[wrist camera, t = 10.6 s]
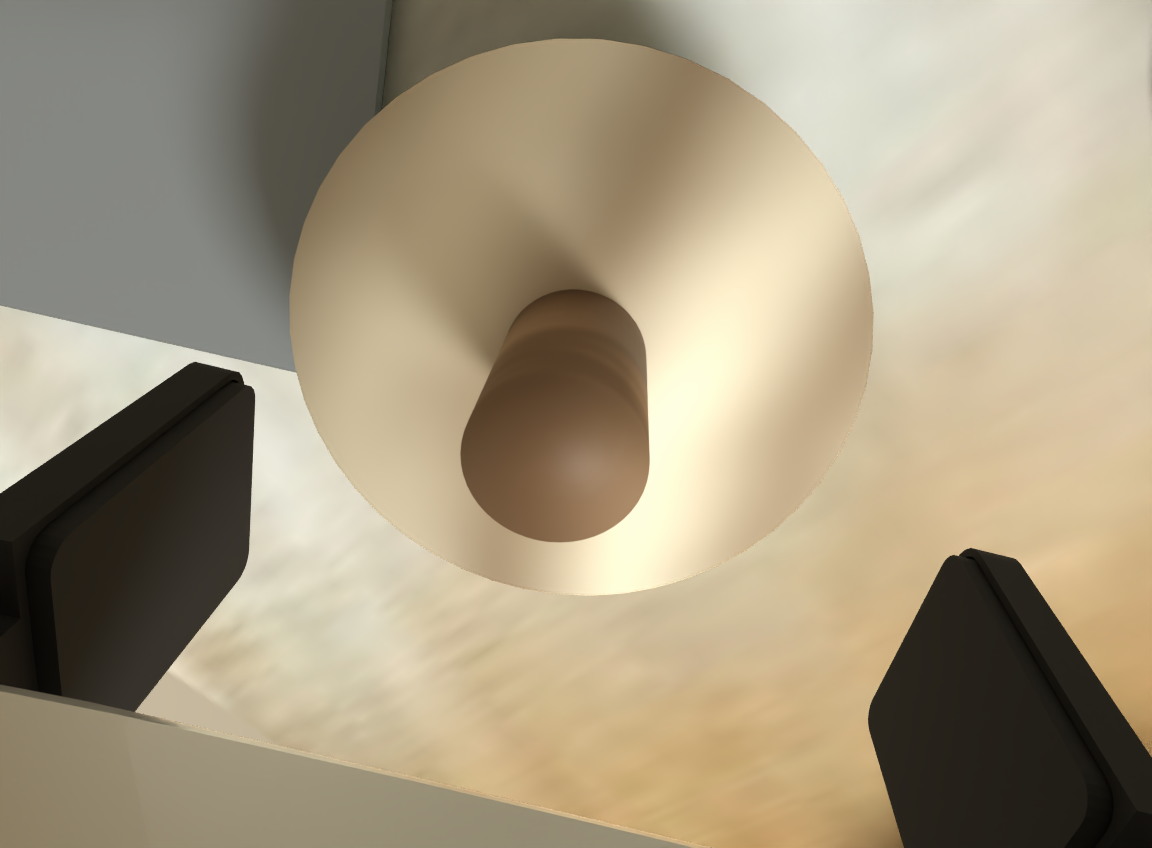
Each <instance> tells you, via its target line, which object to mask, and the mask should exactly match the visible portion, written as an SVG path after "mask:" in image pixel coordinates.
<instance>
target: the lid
mask: <svg viewBox="0 0 1152 848" xmlns="http://www.w3.org/2000/svg"><path fill="white" fill-rule="evenodd" d="M289 301H290V336H291V343H292V350H293V357H294V363H295V369H296V372H297V376H298V379H299V383H300V386H301V390H302V393H303V397H304V400H305V403H306V405H307V407H308V410H309V412H310V415H311V417H312V419H313V422H314V424H315V426H316V429H317V431H318V433H319V435H320V437H321V438H322V440H323V442H324V443H325V445H326V447H327V449H328V450H329V452H330V454H331V456H332V457H333V459H334V461H335V462H336V464H337V465H338V466H339V468H340V469H341V470H342V472H343V473H344V474H345V476H346V477H347V478H348V480H349V481H350V482H351V484H352V485H353V486H354V488H355V489H356V490H357V491H358V492H359V493H360V494H361V495H362V496H363V497H364V498H365V499H366V501H367V502H368V503H369V504H370V505H371V506H372V507H373V508H374V509H375V510H376V511H377V512H378V513H379V514H380V515H381V516H382V517H384V518H385V519H386V520H387V521H388V522H390V523H391V524H392V525H393V526H394V527H396V528H397V529H398V530H399V531H400V532H402V533H403V534H404V535H405V536H407V537H408V538H410V539H411V540H413V541H414V542H416V543H417V544H419V545H420V546H422V547H423V548H425V549H426V550H428V551H429V552H431V553H433V554H435V555H436V556H438V557H440V558H442V559H444V560H446V561H448V562H450V563H452V564H454V565H456V566H458V567H460V568H462V569H464V570H467V571H469V572H472V573H475V574H477V575H480V576H482V577H485V578H488V579H490V580H493V581H497V582H500V583H504V584H508V585H512V586H515V587H519V588H523V589H528V590H535V591H541V592H547V593H554V594H569V595H606V594H622V593H628V592H634V591H640V590H646V589H652V588H656V587H660V586H664V585H667V584H671V583H674V582H678V581H681V580H685V579H688V578H690V577H692V576H695V575H697V574H700V573H702V572H705V571H707V570H710V569H712V568H714V567H717V566H719V565H720V564H722V563H724V562H726V561H728V560H730V559H731V558H733V557H735V556H737V555H739V554H740V553H742V552H744V551H746V550H747V549H749V548H750V547H751V546H753V545H754V544H756V543H757V542H758V541H760V540H761V539H763V538H764V537H765V536H767V535H768V534H770V533H771V532H772V531H774V530H775V529H776V528H777V527H778V526H779V525H780V524H781V523H782V522H784V521H785V520H786V519H787V518H788V517H789V516H790V515H791V514H792V513H793V512H794V511H796V510H797V509H798V508H799V507H800V505H801V504H802V503H803V502H804V501H805V500H806V498H807V497H808V496H809V495H810V494H811V492H812V491H813V490H814V489H815V488H816V487H817V485H818V484H819V483H820V482H821V480H822V479H823V477H824V476H825V474H826V473H827V471H828V470H829V468H830V467H831V465H832V463H833V462H834V460H835V459H836V457H837V456H838V454H839V453H840V451H841V449H842V446H843V444H844V442H845V440H846V438H847V436H848V434H849V432H850V430H851V428H852V426H853V423H854V421H855V419H856V415H857V412H858V409H859V406H860V403H861V400H862V397H863V394H864V391H865V388H866V383H867V377H868V371H869V366H870V360H871V354H872V340H873V305H872V296H871V287H870V277H869V272H868V268H867V264H866V260H865V257H864V253H863V249H862V245H861V241H860V237H859V235H858V232H857V230H856V228H855V225H854V223H853V220H852V218H851V216H850V213H849V211H848V209H847V206H846V204H845V201H844V199H843V198H842V196H841V194H840V193H839V191H838V189H837V188H836V186H835V184H834V183H833V181H832V179H831V178H830V176H829V174H828V173H827V171H826V169H825V168H824V166H823V164H822V163H821V162H820V161H819V160H818V158H817V157H816V156H815V155H814V153H813V152H812V151H811V150H810V149H809V147H808V146H807V145H806V144H805V143H804V141H803V140H802V139H801V138H800V136H799V135H798V134H797V133H796V132H795V131H794V130H793V129H792V128H791V127H790V126H789V125H788V124H787V123H785V122H784V121H783V120H782V119H781V118H780V117H779V116H778V115H777V114H775V113H774V112H773V111H772V110H771V109H770V108H769V107H768V106H767V105H766V104H764V103H763V102H762V101H760V100H759V99H757V98H756V97H754V96H753V95H751V94H750V93H748V92H747V91H745V90H744V89H742V88H741V87H739V86H738V85H736V84H735V83H733V82H732V81H730V80H729V79H727V78H725V77H723V76H721V75H719V74H717V73H715V72H713V71H711V70H709V69H707V68H705V67H702V66H700V65H698V64H696V63H694V62H692V61H690V60H688V59H685V58H682V57H678V56H675V55H672V54H669V53H666V52H662V51H659V50H656V49H653V48H649V47H646V46H641V45H635V44H629V43H622V42H616V41H610V40H603V39H549V40H542V41H534V42H527V43H520V44H512V45H509V46H505V47H502V48H498V49H495V50H491V51H488V52H485V53H481V54H478V55H474V56H471V57H468V58H466V59H464V60H462V61H460V62H457V63H455V64H453V65H451V66H449V67H446V68H444V69H442V70H440V71H438V72H435V73H433V74H431V75H430V76H428V77H427V78H425V79H423V80H422V81H420V82H419V83H417V84H416V85H414V86H413V87H411V88H410V89H408V90H407V91H405V92H403V93H402V94H400V95H399V96H397V97H396V98H395V99H394V100H392V101H391V102H390V103H389V104H388V105H387V106H386V107H385V108H383V109H382V110H381V111H380V112H379V113H378V114H377V115H375V116H374V117H373V118H372V119H371V120H370V121H369V122H368V123H366V124H365V125H364V127H363V128H362V129H361V130H360V131H359V133H358V134H357V135H356V136H355V137H354V138H353V140H352V141H351V142H350V143H349V144H348V146H347V147H346V148H345V149H344V150H343V152H342V153H341V154H340V155H339V157H338V158H337V160H336V162H335V163H334V165H333V166H332V168H331V170H330V171H329V173H328V175H327V176H326V178H325V179H324V181H323V183H322V184H321V186H320V187H319V189H318V192H317V194H316V196H315V199H314V201H313V203H312V206H311V208H310V210H309V213H308V215H307V217H306V219H305V222H304V225H303V228H302V232H301V236H300V239H299V243H298V247H297V250H296V254H295V258H294V264H293V272H292V279H291V287H290V295H289Z"/></svg>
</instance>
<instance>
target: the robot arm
mask: <svg viewBox="0 0 1152 848" xmlns="http://www.w3.org/2000/svg"><path fill="white" fill-rule="evenodd" d="M254 414H255V393H254V389H253V388H252V387H251V386H247V385H244V381H243V378H242V375H241V374H240V373H239V372H235V371H231V370H227V369H223V368H219V367H215V366H210V365H206V364H202V363H198V362H193V363H191V364H189V365H187V366H186V367H184V368H183V369H181V370H180V371H178V372H177V373H175V374H174V375H173V376H171V377H170V378H168V379H167V380H165V381H164V382H162V383H161V384H159V385H158V386H156V387H155V388H154V389H152V390H151V391H149V392H148V393H146V394H145V395H143V396H142V397H140V398H139V399H138V400H136V401H135V402H133V403H132V404H130V405H129V406H127V407H126V408H124V409H123V410H121V411H120V412H119V413H117V414H116V415H114V416H113V417H111V418H110V419H108V420H107V421H105V422H104V423H102V424H101V425H100V426H98V427H97V428H95V429H94V430H92V431H91V432H89V433H88V434H86V435H85V436H84V437H82V438H81V439H79V440H78V441H76V442H75V443H73V444H72V445H70V446H69V447H67V448H66V449H65V450H63V451H62V452H60V453H59V454H57V455H56V456H54V457H53V458H51V459H50V460H48V461H47V462H46V463H44V464H43V465H41V466H40V467H38V468H37V469H35V470H34V471H32V472H31V473H30V474H28V475H27V476H25V477H24V478H22V479H21V480H19V481H18V482H16V483H15V484H13V485H12V486H11V487H9V488H8V489H6V490H5V491H3V492H2V493H0V848H712V847H708V846H704V845H700V844H696V843H691V842H687V841H683V840H679V839H675V838H670V837H666V836H662V835H658V834H654V833H650V832H645V831H641V830H637V829H633V828H629V827H624V826H620V825H616V824H612V823H608V822H603V821H599V820H595V819H591V818H587V817H583V816H578V815H574V814H570V813H566V812H561V811H557V810H553V809H549V808H545V807H540V806H536V805H532V804H528V803H523V802H519V801H515V800H511V799H507V798H502V797H498V796H494V795H490V794H485V793H481V792H477V791H473V790H469V789H464V788H460V787H456V786H452V785H447V784H443V783H439V782H435V781H431V780H426V779H422V778H418V777H413V776H409V775H405V774H400V773H396V772H392V771H387V770H383V769H379V768H374V767H370V766H366V765H361V764H357V763H353V762H349V761H344V760H340V759H336V758H331V757H327V756H323V755H318V754H314V753H310V752H305V751H301V750H297V749H292V748H288V747H284V746H279V745H275V744H271V743H266V742H262V741H258V740H254V739H249V738H245V737H241V736H236V735H232V734H228V733H223V732H219V731H215V730H210V729H206V728H202V727H197V726H193V725H188V724H184V723H180V722H176V721H171V720H167V719H162V718H158V717H154V716H149V715H145V714H140V713H136V712H135V711H136V710H137V708H138V707H139V706H140V704H141V703H142V702H143V701H144V699H145V698H146V697H147V696H148V694H149V693H150V692H151V690H152V689H153V688H154V686H155V685H156V684H157V683H158V681H159V680H160V679H161V678H162V676H163V675H164V674H165V673H166V671H167V670H168V669H169V668H170V666H171V665H172V664H173V662H174V661H175V660H176V659H177V657H178V656H179V655H180V654H181V652H182V651H183V650H184V649H185V647H186V646H187V645H188V643H189V642H190V641H191V640H192V638H193V637H194V636H195V635H196V633H197V632H198V631H199V629H200V628H201V627H202V626H203V624H204V623H205V622H206V621H207V619H208V618H209V617H210V615H211V614H212V613H213V612H214V610H215V609H216V608H217V607H218V605H219V604H220V603H221V601H222V600H223V599H224V598H225V596H226V595H227V594H228V593H229V591H230V590H231V589H232V588H233V586H234V585H235V584H236V582H237V581H238V580H239V578H240V577H241V575H242V573H243V571H244V569H245V566H246V563H247V559H248V554H249V536H250V512H251V488H252V463H253V439H254ZM868 725H869V731H870V734H871V738H872V741H873V744H874V748H875V751H876V755H877V758H878V761H879V765H880V768H881V771H882V775H883V778H884V782H885V785H886V788H887V792H888V795H889V798H890V802H891V805H892V809H893V812H894V815H895V819H896V822H897V825H898V829H899V832H900V836H901V839H902V842H903V846H904V848H1152V757H1151V756H1150V754H1149V753H1148V751H1147V750H1146V748H1145V747H1144V746H1143V744H1142V743H1141V741H1140V740H1139V738H1138V737H1137V735H1136V734H1135V732H1134V731H1133V729H1132V728H1131V726H1130V725H1129V723H1128V722H1127V720H1126V719H1125V717H1124V716H1123V715H1122V713H1121V712H1120V710H1119V709H1118V707H1117V706H1116V704H1115V703H1114V701H1113V700H1112V698H1111V697H1110V695H1109V694H1108V692H1107V691H1106V689H1105V688H1104V686H1103V685H1102V684H1101V682H1100V681H1099V679H1098V678H1097V676H1096V675H1095V673H1094V672H1093V670H1092V669H1091V667H1090V666H1089V664H1088V663H1087V661H1086V660H1085V658H1084V657H1083V655H1082V654H1081V653H1080V651H1079V650H1078V648H1077V647H1076V645H1075V644H1074V642H1073V641H1072V639H1071V638H1070V636H1069V635H1068V633H1067V632H1066V630H1065V629H1064V627H1063V626H1062V624H1061V623H1060V622H1059V620H1058V619H1057V617H1056V616H1055V614H1054V613H1053V611H1052V610H1051V608H1050V607H1049V605H1048V604H1047V602H1046V601H1045V599H1044V598H1043V596H1042V595H1041V593H1040V592H1039V591H1038V589H1037V588H1036V586H1035V585H1034V583H1033V582H1032V580H1031V579H1030V577H1029V576H1028V574H1027V573H1026V571H1025V570H1024V568H1023V567H1022V565H1021V564H1020V563H1019V562H1018V561H1017V560H1016V559H1014V558H1010V557H1006V556H1002V555H998V554H993V553H989V552H985V551H981V550H977V549H973V548H969V549H966V550H964V551H963V552H962V553H961V554H960V555H959V556H956V555H952V556H949V557H948V558H947V559H946V560H945V562H944V563H943V565H942V567H941V569H940V571H939V572H938V574H937V576H936V578H935V580H934V582H933V584H932V586H931V588H930V590H929V592H928V594H927V596H926V598H925V599H924V601H923V603H922V605H921V607H920V609H919V611H918V613H917V615H916V617H915V619H914V621H913V623H912V625H911V627H910V628H909V630H908V632H907V634H906V636H905V638H904V640H903V642H902V644H901V646H900V648H899V650H898V652H897V654H896V655H895V657H894V659H893V661H892V663H891V665H890V667H889V669H888V671H887V673H886V675H885V677H884V679H883V681H882V682H881V684H880V686H879V688H878V690H877V692H876V694H875V696H874V698H873V700H872V702H871V705H870V709H869V716H868Z"/></svg>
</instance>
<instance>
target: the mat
mask: <svg viewBox="0 0 1152 848" xmlns="http://www.w3.org/2000/svg"><path fill="white" fill-rule="evenodd" d="M392 3H393V0H0V305H1V306H5V307H10V308H14V309H19V310H23V311H27V312H32V313H36V314H41V315H45V316H49V317H54V318H58V319H63V320H67V321H72V322H76V323H80V324H85V325H89V326H94V327H98V328H102V329H107V330H111V331H116V332H120V333H124V334H129V335H133V336H138V337H142V338H146V339H151V340H155V341H160V342H164V343H169V344H173V345H177V346H182V347H186V348H191V349H195V350H199V351H204V352H208V353H213V354H217V355H221V356H226V357H230V358H235V359H239V360H243V361H248V362H252V363H257V364H261V365H266V366H270V367H274V368H279V369H283V370H288V371H292V372H296V369H295V363H294V357H293V350H292V343H291V336H290V301H289V295H290V287H291V279H292V272H293V264H294V258H295V254H296V250H297V247H298V243H299V239H300V236H301V232H302V228H303V225H304V222H305V219H306V217H307V215H308V213H309V210H310V208H311V206H312V203H313V201H314V199H315V196H316V194H317V192H318V189H319V187H320V186H321V184H322V183H323V181H324V179H325V178H326V176H327V175H328V173H329V171H330V170H331V168H332V166H333V165H334V163H335V162H336V160H337V158H338V157H339V155H340V154H341V153H342V152H343V150H344V149H345V148H346V147H347V146H348V144H349V143H350V142H351V141H352V140H353V138H354V137H355V136H356V135H357V134H358V133H359V131H360V130H361V129H362V128H363V127H364V125H365V124H366V123H368V122H369V121H370V120H371V119H372V118H373V117H374V116H375V115H377V114H378V113H379V112H380V111H381V107H382V98H383V88H384V79H385V70H386V60H387V51H388V41H389V32H390V22H391V13H392ZM296 373H297V372H296Z"/></svg>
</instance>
